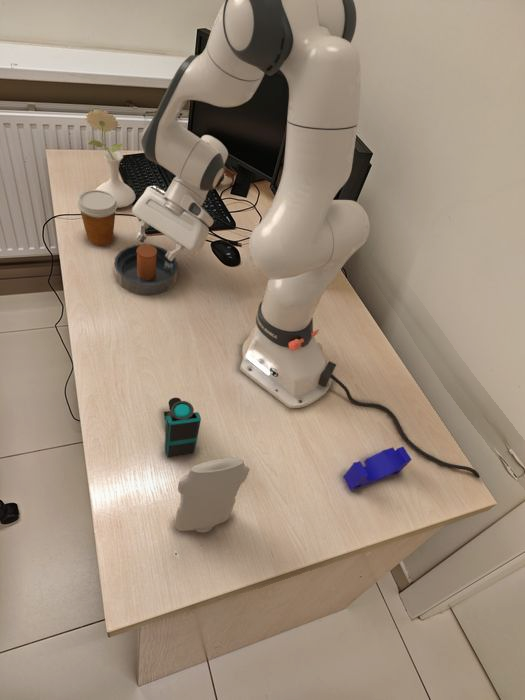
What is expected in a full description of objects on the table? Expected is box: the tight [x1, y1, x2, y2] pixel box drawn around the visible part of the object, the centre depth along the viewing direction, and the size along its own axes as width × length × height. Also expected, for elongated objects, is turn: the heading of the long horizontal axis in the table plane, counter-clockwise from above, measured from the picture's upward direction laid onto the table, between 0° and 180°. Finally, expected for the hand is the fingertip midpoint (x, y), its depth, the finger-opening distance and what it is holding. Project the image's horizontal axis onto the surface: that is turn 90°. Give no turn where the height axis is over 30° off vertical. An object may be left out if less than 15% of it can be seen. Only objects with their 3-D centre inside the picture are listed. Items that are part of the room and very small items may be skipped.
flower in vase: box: [84, 109, 137, 209], centre depth 126 cm, size 13×11×25 cm
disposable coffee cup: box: [76, 189, 118, 246], centre depth 119 cm, size 10×10×12 cm
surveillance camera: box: [163, 397, 202, 458], centre depth 86 cm, size 6×12×10 cm
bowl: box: [113, 243, 179, 296], centre depth 116 cm, size 15×15×4 cm
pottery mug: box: [216, 161, 237, 188], centre depth 150 cm, size 12×10×8 cm
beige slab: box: [174, 457, 250, 534], centre depth 72 cm, size 11×4×22 cm, turn 107°
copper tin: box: [137, 244, 157, 280], centre depth 114 cm, size 5×5×8 cm
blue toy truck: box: [343, 446, 413, 491], centre depth 91 cm, size 12×4×6 cm, turn 114°
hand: (153, 249), depth 114 cm, fingers open, 8 cm apart
